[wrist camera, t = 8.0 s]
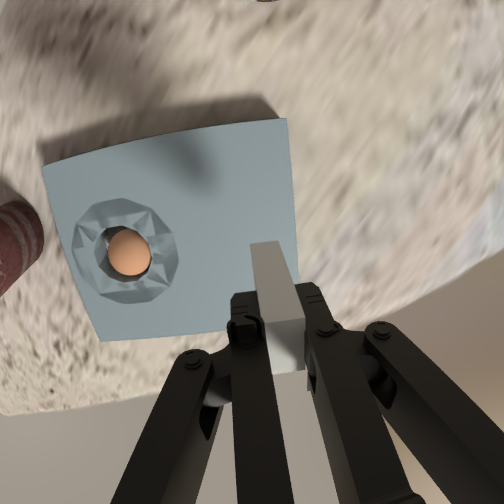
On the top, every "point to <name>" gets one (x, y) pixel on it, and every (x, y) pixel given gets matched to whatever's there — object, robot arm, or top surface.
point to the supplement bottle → (264, 1)
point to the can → (18, 242)
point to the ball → (129, 252)
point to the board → (175, 223)
